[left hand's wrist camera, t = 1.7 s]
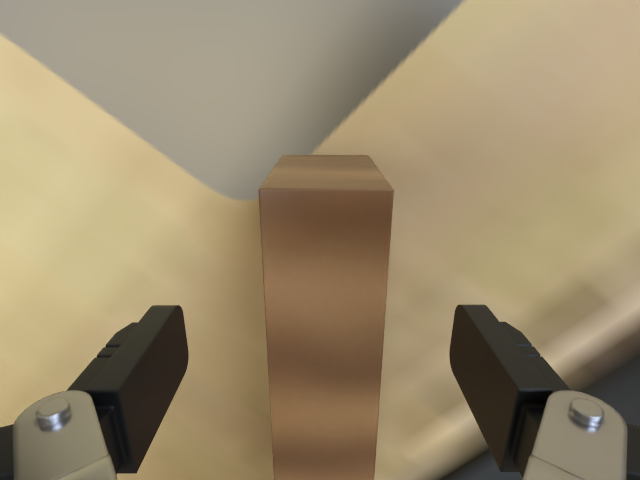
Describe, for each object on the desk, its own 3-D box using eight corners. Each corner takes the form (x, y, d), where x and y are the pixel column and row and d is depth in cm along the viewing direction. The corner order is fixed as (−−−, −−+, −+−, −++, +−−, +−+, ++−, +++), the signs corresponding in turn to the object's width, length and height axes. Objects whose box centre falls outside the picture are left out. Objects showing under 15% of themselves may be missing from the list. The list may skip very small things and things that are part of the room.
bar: (282, 154, 22) (258, 188, 14) (368, 155, 22) (393, 189, 14) (292, 468, 30) (280, 600, 22) (354, 469, 30) (365, 602, 22)
